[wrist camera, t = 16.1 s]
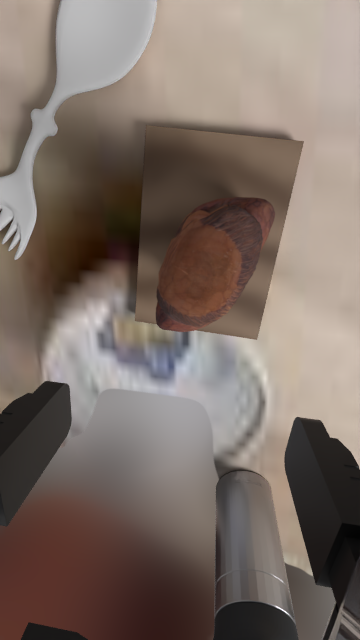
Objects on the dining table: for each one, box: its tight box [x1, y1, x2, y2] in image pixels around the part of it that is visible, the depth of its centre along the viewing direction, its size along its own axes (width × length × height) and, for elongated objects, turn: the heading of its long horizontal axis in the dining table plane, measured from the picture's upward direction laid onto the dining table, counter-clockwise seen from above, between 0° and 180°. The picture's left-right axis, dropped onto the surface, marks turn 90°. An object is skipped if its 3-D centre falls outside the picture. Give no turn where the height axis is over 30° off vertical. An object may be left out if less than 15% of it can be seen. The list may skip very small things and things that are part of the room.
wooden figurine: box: [156, 197, 275, 332], centre depth 25 cm, size 12×6×18 cm, turn 154°
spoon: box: [0, 0, 157, 260], centre depth 31 cm, size 9×32×4 cm, turn 141°
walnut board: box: [135, 125, 304, 340], centre depth 35 cm, size 22×16×2 cm
